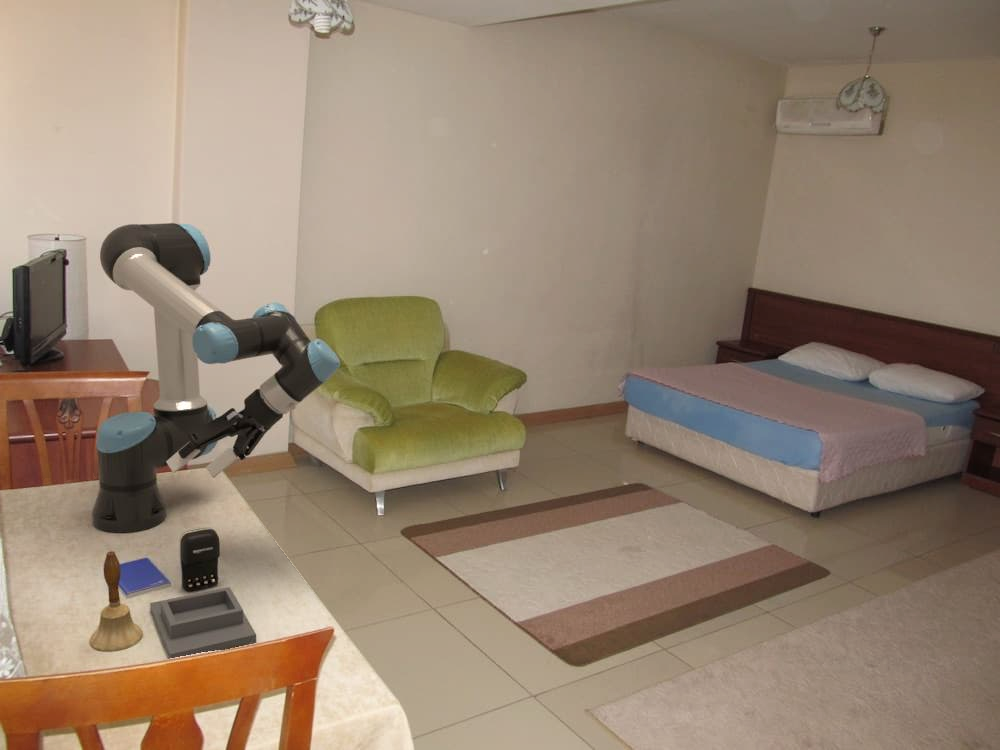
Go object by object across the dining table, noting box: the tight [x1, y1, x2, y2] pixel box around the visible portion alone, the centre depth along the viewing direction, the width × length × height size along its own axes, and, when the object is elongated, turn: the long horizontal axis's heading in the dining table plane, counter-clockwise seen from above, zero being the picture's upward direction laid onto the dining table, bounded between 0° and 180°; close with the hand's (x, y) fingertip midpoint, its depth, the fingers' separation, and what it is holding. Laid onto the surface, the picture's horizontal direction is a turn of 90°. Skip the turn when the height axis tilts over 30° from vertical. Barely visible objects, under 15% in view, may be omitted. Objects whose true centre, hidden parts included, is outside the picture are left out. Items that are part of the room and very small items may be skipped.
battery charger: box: [179, 527, 221, 592], centre depth 161 cm, size 7×4×11 cm, turn 124°
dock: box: [149, 586, 257, 659], centre depth 149 cm, size 18×14×4 cm
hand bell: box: [89, 551, 144, 652], centre depth 142 cm, size 8×8×16 cm
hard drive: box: [118, 557, 172, 599], centre depth 164 cm, size 2×8×12 cm
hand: (190, 470), depth 168 cm, fingers open, 13 cm apart
